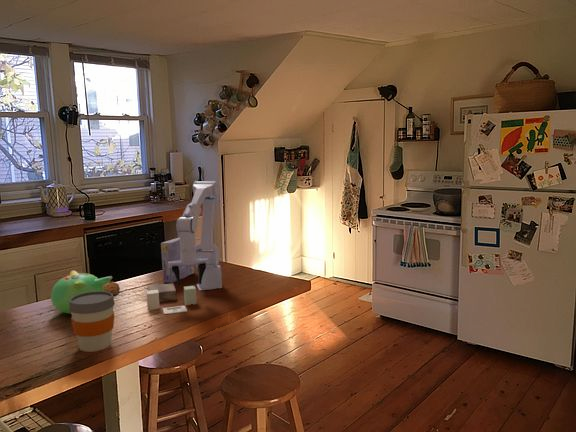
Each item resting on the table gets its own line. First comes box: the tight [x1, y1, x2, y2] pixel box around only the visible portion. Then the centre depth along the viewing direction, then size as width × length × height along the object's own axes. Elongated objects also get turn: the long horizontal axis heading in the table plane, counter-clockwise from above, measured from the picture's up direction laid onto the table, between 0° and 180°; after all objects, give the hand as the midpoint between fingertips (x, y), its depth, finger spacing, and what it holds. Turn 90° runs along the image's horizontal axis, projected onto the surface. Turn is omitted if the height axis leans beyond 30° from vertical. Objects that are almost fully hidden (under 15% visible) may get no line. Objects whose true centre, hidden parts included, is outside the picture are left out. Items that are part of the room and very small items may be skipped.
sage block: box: [183, 285, 198, 306], centre depth 184 cm, size 4×4×6 cm
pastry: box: [103, 280, 121, 296], centre depth 198 cm, size 9×7×4 cm
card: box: [162, 305, 188, 315], centre depth 176 cm, size 8×6×1 cm
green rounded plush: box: [50, 270, 113, 315], centre depth 175 cm, size 18×17×15 cm
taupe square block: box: [146, 282, 177, 303], centre depth 191 cm, size 10×10×4 cm
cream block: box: [146, 290, 161, 311], centre depth 179 cm, size 4×4×6 cm
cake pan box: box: [160, 237, 195, 284], centre depth 217 cm, size 19×5×18 cm, turn 158°
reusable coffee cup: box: [69, 291, 115, 353], centre depth 146 cm, size 13×13×15 cm
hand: (189, 284), depth 183 cm, fingers open, 7 cm apart
